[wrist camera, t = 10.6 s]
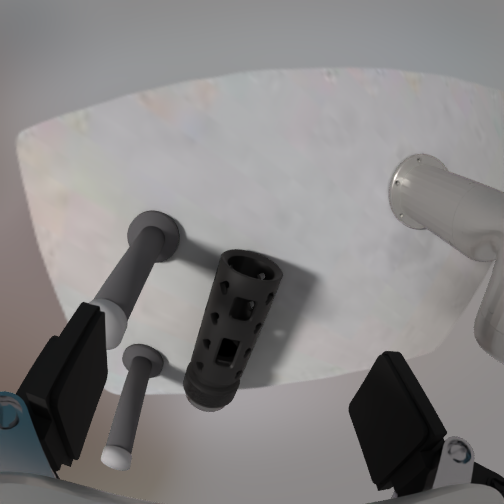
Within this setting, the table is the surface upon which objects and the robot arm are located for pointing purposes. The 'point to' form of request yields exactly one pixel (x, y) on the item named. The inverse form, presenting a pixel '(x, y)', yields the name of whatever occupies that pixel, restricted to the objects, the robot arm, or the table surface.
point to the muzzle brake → (230, 327)
